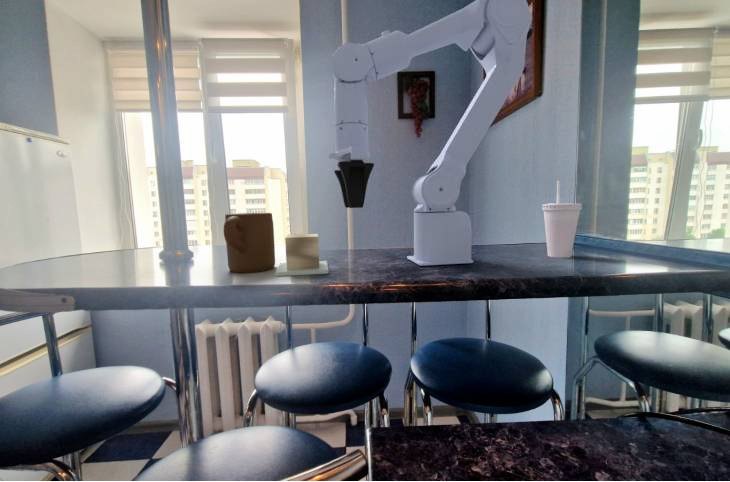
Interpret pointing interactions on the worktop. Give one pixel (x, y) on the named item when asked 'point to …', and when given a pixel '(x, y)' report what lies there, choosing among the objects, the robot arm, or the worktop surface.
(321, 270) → the coaster
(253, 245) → the mug
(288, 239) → the oak block
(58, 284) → the worktop surface
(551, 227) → the smoothie
